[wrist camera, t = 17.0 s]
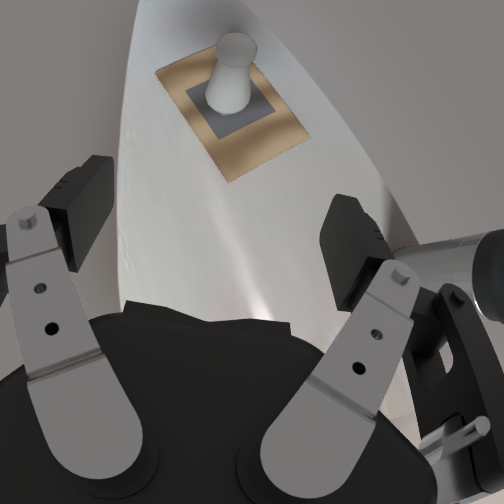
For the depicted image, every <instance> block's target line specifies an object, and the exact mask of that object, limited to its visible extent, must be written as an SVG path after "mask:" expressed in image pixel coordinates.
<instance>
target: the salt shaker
mask: <svg viewBox="0 0 504 504" xmlns="http://www.w3.org/2000/svg"><path fill="white" fill-rule="evenodd" d="M215 53H216V56H217V59H218V61H217V64H216V66H215V68H214V71H213V73H212V75H211V78H210V80H209V83H208V85H207V88H206V92H205V96H206V99H207V103H208V105H209V106H210V107H211V108H212V109H213V110H215V111H216V112H218V113H219V114H221V115H223V116H226V115H231V114H236V113H238V112H240V111H242V110H243V109H244V108H245V106H246V105H247V104H248V103H249V100H250V95H251V86H250V63H251V62H252V61H253V60H254V59H255V57H256V53H257V45H256V42H255V40H254V39H252V38H251V37H250V36H249V35H246V34H243V33H239V32H231V33H228V34H225V35H223V36H222V37H221V38H219V39H218V42H217V45H216V48H215Z"/></svg>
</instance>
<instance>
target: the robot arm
mask: <svg viewBox="0 0 504 504" xmlns="http://www.w3.org/2000/svg"><path fill="white" fill-rule="evenodd" d="M113 203H114V160H113V158H112V157H109V156H99V155H92V156H91V157H90V158H89V159H88V160H87V161H86V162H85V163H84V164H83V165H82V166H81V167H76V168H75V169H73V170H71V171H69V172H67V173H66V174H65V175H64V176H63V177H62V178H61V179H60V180H59V182H57V184H56V185H55V186H54V188H52V189H51V190H50V191H49V192H48V194H47V195H46V196H45V197H44V198H43V199H42V200H41V201H40V203H39V204H38V205H37V206H36V205H35V206H27V207H23V208H21V209H19V210H17V211H15V212H14V213H13V214H11V216H10V217H9V218H8V219H7V222H6V224H4V225H0V307H1V304H2V303H3V301H4V299H5V297H6V295H7V293H9V296H10V301H11V307H12V313H13V318H14V323H15V328H16V333H17V337H18V342H19V346H20V350H21V353H22V358H23V361H24V364H23V365H22V366H20V367H19V368H17V369H16V370H15V371H13V372H12V373H10V374H9V375H8V376H6V377H5V378H4V379H2V380H1V381H0V504H468V503H471V502H473V501H476V500H479V499H481V498H484V497H486V496H488V495H491V494H493V493H495V492H498V491H500V490H502V489H504V373H503V370H502V368H501V365H500V363H499V360H498V358H497V355H496V353H495V351H494V348H493V346H492V343H491V341H490V339H489V337H488V334H487V332H486V330H485V328H484V326H483V324H482V321H481V320H489V321H499V322H501V323H502V324H504V229H501V230H496V231H491V232H486V233H481V234H476V235H471V236H466V237H461V238H455V239H450V240H445V241H440V242H434V243H429V244H423V245H417V246H412V247H407V248H402V249H399V250H397V251H396V252H395V253H393V254H392V252H391V250H390V248H389V246H388V245H387V243H386V241H385V240H384V237H383V235H382V233H380V229H379V227H378V226H377V224H376V222H375V221H374V220H373V219H372V218H371V217H370V216H369V215H368V214H367V213H365V212H364V210H363V209H362V207H361V205H360V203H359V201H358V199H357V198H355V197H350V196H346V195H342V194H336V195H335V196H334V198H333V200H332V202H331V205H330V208H329V210H328V213H327V215H326V218H325V221H324V223H323V226H322V228H321V232H320V247H321V250H322V254H323V258H324V261H325V265H326V268H327V272H328V276H329V280H330V283H331V287H332V291H333V295H334V299H335V302H336V306H337V310H338V311H347V312H351V315H350V317H349V319H348V320H347V322H346V323H345V325H344V326H343V328H342V329H341V331H340V332H339V334H338V335H337V337H336V338H335V340H334V341H333V343H332V344H331V346H330V347H329V349H328V350H327V351H326V353H325V354H324V353H323V352H322V351H320V350H319V349H318V348H316V347H315V346H313V345H312V344H310V343H308V342H306V341H304V340H302V339H300V338H297V337H295V336H292V335H291V330H290V323H288V322H278V321H268V320H259V319H251V318H250V319H239V320H227V321H215V322H207V321H203V320H200V319H197V318H195V317H192V316H189V315H186V314H184V313H181V312H178V311H176V310H173V309H170V308H168V307H163V306H157V305H151V304H145V303H139V302H133V301H128V300H126V303H125V306H124V310H123V312H120V313H112V314H106V315H102V316H99V317H96V318H93V319H90V320H88V319H87V317H86V314H85V312H84V310H83V307H82V305H81V302H80V300H79V297H78V295H77V292H76V290H75V287H74V284H73V282H72V279H71V276H70V273H69V271H71V272H76V273H78V271H79V269H80V267H81V265H82V263H83V261H84V259H85V257H86V256H87V254H88V252H89V250H90V248H91V246H92V244H93V243H94V241H95V239H96V237H97V235H98V234H99V232H100V230H101V228H102V226H103V225H104V223H105V221H106V219H107V218H108V216H109V214H110V212H111V210H112V208H113ZM447 341H448V343H449V346H450V349H451V352H452V354H453V366H452V368H451V370H450V371H449V372H448V373H447V374H446V371H445V368H444V365H443V361H442V358H441V356H440V352H439V350H440V349H441V348H442V347H443V346H444V344H445V343H446V342H447ZM401 356H402V358H403V362H404V366H405V370H406V374H407V378H408V382H409V386H410V390H411V395H412V399H413V403H414V408H415V412H416V417H417V422H418V427H419V432H420V437H421V442H420V445H419V449H417V448H416V447H415V446H414V445H413V444H411V442H410V441H409V440H408V439H407V438H406V437H405V436H404V435H403V434H402V433H401V432H400V431H399V430H398V429H397V428H396V427H395V426H394V425H393V424H392V423H391V422H390V421H389V420H388V419H387V418H386V417H385V416H384V415H383V414H382V413H381V412H380V411H379V410H378V409H379V407H380V405H381V403H382V401H383V399H384V396H385V394H386V392H387V390H388V388H389V385H390V383H391V381H392V378H393V376H394V374H395V371H396V369H397V366H398V364H399V361H400V359H401Z"/></svg>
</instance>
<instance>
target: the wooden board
mask: <svg viewBox="0 0 504 504" xmlns="http://www.w3.org/2000/svg"><path fill="white" fill-rule="evenodd" d="M215 48H216V46H213V47H211V48H208V49H206V50H203V51H201V52H198V53H196V54H194V55H191V56H189V57H187V58H184V59H182V60H180V61H178V62H175V63H173V64H171V65H169V66H167V67H165V68H162V69H160V70H158V71H156V72H155V75H156V76H157V78H158V79H159V80H160V82H161V83H162V85H163V86H164V88H165V89H166V91H167V92H168V94H169V95H170V97H171V98H172V100H173V101H174V103H175V104H176V106H177V107H178V108H179V110H180V111H181V113H182V114H183V116H184V117H185V119H186V120H187V122H188V123H189V125H190V126H191V128H192V129H193V131H194V132H195V134H196V135H197V137H198V138H199V140H200V141H201V143H202V144H203V146H204V147H205V149H206V150H207V152H208V153H209V155H210V156H211V158H212V159H213V161H214V162H215V164H216V165H217V167H218V168H219V170H220V172H221V173H222V175H223V176H224V178H225V179H226V181H227V182H228V183H229V182H231V181H233V180H235V179H236V178H238V177H240V176H242V175H243V174H245V173H247V172H249V171H250V170H252V169H254V168H256V167H257V166H259V165H261V164H263V163H265V162H266V161H268V160H270V159H272V158H274V157H276V156H277V155H279V154H281V153H283V152H285V151H287V150H288V149H290V148H292V147H294V146H296V145H298V144H300V143H302V142H303V141H305V140H307V139H309V138H310V136H309V135H308V134H307V132H306V131H305V129H304V128H303V127H302V125H301V124H300V123H299V121H298V120H297V119H296V117H295V116H294V115H293V113H292V112H291V111H290V109H289V108H288V107H287V105H286V104H285V103H284V101H283V100H282V99H281V97H280V96H279V95H278V94H277V92H276V91H275V90H274V89H273V87H272V86H271V85H270V84H269V82H268V81H267V80H266V79H265V77H264V76H263V75H262V74H261V72H260V71H259V70H258V69H257V68H256V66H255V65H254V64H253V63H252V62H251V63H250V86H251V95H250V100H249V103H248V104H247V105H246V106H245V108H244V109H243V110H242V111H240V112H238V113H236V114H231V115H226V116H223V115H221V114H219V113H218V112H216V111H215V110H213V109H212V108H211V107H210V106H209V105H208V103H207V99H206V96H205V92H206V88H207V85H208V83H209V80H210V78H211V75H212V73H213V71H214V68H215V66H216V64H217V61H218V59H217V56H216V53H215Z"/></svg>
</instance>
